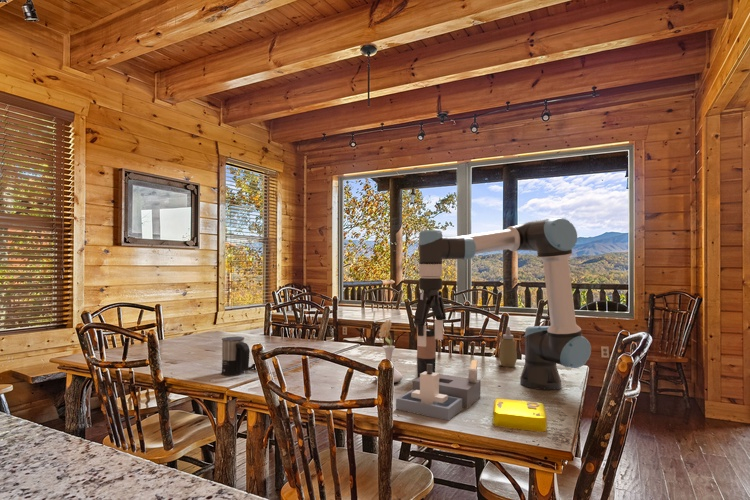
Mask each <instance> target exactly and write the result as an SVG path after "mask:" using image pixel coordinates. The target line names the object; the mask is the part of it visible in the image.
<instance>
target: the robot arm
mask: <svg viewBox="0 0 750 500" xmlns="http://www.w3.org/2000/svg"><path fill="white" fill-rule="evenodd" d="M418 235H419V236H418V257H419V258H418V268H417V269H418V276H419V279H418V289H419V290H422V291H423V292H422V293H418V296H417V304H416V307H415V313H414V314H415V315H414V318H413V325H414V326H416V327H417V328H416V329H417V330H416V332H417V333H416V334H417V337H416V339H417V341H416V343H417V345H416V346H423V347H426V328H427V325H425V324H426V323H427V320H428V316H429V313H430V310H431V309H432V311H433V314H434V318H435V319H434V329H435V339H436V340H440V341H443V340H444V321H446V319H447V315H446V309H445V305H444V300H443V291H442V289H443V279H442V278H441V277H443V260H471V259H473V258H474V256H476V255H478V254H484V253H485V254H486V253H491V252H493V253H494V252H498V251H499V252H500V251H506V250H509V251H511V252H515V251H516V252H518V251H529V252H531V251H532V252H536V253H537V258H538V259H539V260H540V261H542V266H543V272H544V273H543V274H544V281H545V290H546V296H547V298H546V299H547V304H548V305H547V306H548V312H549V313H548V314H549V321H550V325H542V326H541V325H536V326H528V327H526V328H525V330H524V331H525V333H524V366H523V369H522V372H521V374H520V378H519V383H520V384H521V386H524V387H527V388H529V389H535V390H544V391H552V390H553V391H554V390H555V391H556V390H558V389H561V388H562V380H561V376H560V374H559V369H558V366H557V365H560V366H563V367H564V368H565V367H566V368H571V369H578V368H581V367H583V366H584V365H585V364H586V363H587V362H588V360H589V359H590V357H591V354H592V347H591V346H592V345H591V343H590V341H589V340H588V339H587V338H586V337H585V336H583V334H582V333H583V331H582V328H581V327H580V326H579V325H578V324H577V321H576V320H577V319H576V312H575V304H574V296H573V288H572V279H571V270H570V264H569V258H570V257H571V256H572V255H573V253H572V252H573V250H572V249H573V248H575V246H576V243H577V242H578V232H577V229H576V227H575V225H574V224H573V223H572V222H571V221H569V220H568V219H566V218H561V217H552V218H546V219H539V220H531V221H528V222H525V223H520V224H517V225H512V226H510V225H509V226H508V227H506V229H501V230H493V231H487V232H479V233H472V234H471V233H470V234H465V235H463V234H462V235H457V236H456V235H455V236H443V232H442V230H438V229H430V230H429V229H426V230H422V231H419V234H418Z"/></svg>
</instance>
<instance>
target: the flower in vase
mask: <svg viewBox="0 0 750 500" xmlns="http://www.w3.org/2000/svg"><path fill="white" fill-rule="evenodd" d="M391 328H392V321H391V320H390V319H386V320H385V321H384V322H383V323H382V324H381V326H380V329H379V333H378V337H379V338H380V339H383V338H385V339H384V340H385V342H386V343H387V344H388V345H382V348H383V350H384V354H385V360H386V359H389V360H390V361H391V362H392V358H393V357H392V356H393V352H394V349H395V348H396V346H395V345H393V339H392V336H391V333H390V330H391ZM387 334H388V335H389V338H390V339H389V338H388V336H387ZM373 378H374V379H375V380H376V381H377V378H376V377H373ZM402 379H403V375H402V373H401V372H400V371H398V370H397V369H396V368H395V367H394V384H395V383H397V382H400V381H402Z"/></svg>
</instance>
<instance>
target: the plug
mask: <svg viewBox="0 0 750 500" xmlns="http://www.w3.org/2000/svg"><path fill="white" fill-rule="evenodd" d="M439 374H440V373H439V372H435V373H433V372H432V364H427V372H426V371H425V372H423V373H421V374H420V390H415V391H413V392H412V393H411V397H413V398H418V399H421V402H422V403H427V404H432V405H437V402H440V403H444V402H445V401H447V400H448V395H444V394H439Z"/></svg>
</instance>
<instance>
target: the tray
mask: <svg viewBox="0 0 750 500" xmlns="http://www.w3.org/2000/svg"><path fill="white" fill-rule="evenodd" d="M413 391H415V390H412V389H411V390H409V391H408V392H405V393H404V394H402V395H400V396H398V397H396V399H395V410H396V409H399V410H398V411H401V410H404V411H403V412H406V411H409V412H408V413H411V412H413V413H412V414H415V413H418V414H417V415H420V414H422V416H425V415H426V417H430V418H434V417H435V418H434V419H438V420H439V419H440V420H444V421H450V420H451V419H453V418H454V417H455V416H456V415H457V414H458V413H459V412H461V411H462V410H463V407H462V398H457V397H451V396H448V400H447V401H445V402H444V403H440V402H437V405H432V404H427V403H422V402H421V399H418V398H413V397H411V393H412V392H413Z"/></svg>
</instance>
